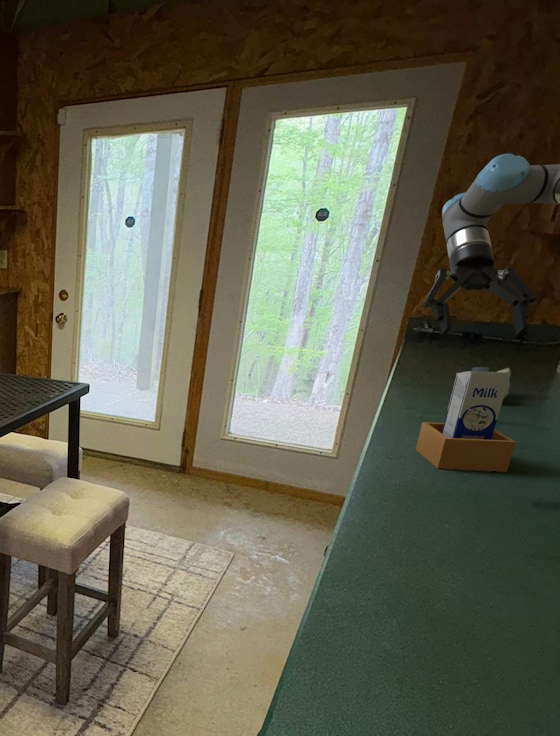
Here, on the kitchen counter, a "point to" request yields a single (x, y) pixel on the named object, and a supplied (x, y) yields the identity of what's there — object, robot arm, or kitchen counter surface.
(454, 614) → the kitchen counter surface
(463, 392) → the milk carton
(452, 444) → the bin
